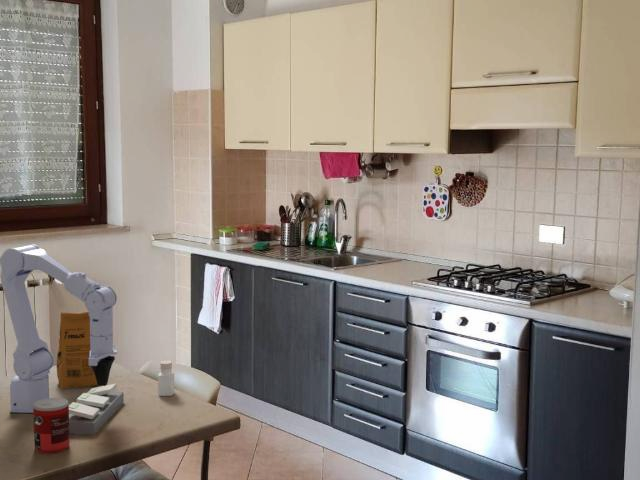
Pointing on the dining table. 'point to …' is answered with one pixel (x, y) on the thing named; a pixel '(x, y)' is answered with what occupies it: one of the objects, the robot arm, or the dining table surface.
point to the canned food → (51, 425)
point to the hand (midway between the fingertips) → (102, 385)
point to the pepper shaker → (166, 379)
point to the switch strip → (97, 422)
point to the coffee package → (74, 352)
